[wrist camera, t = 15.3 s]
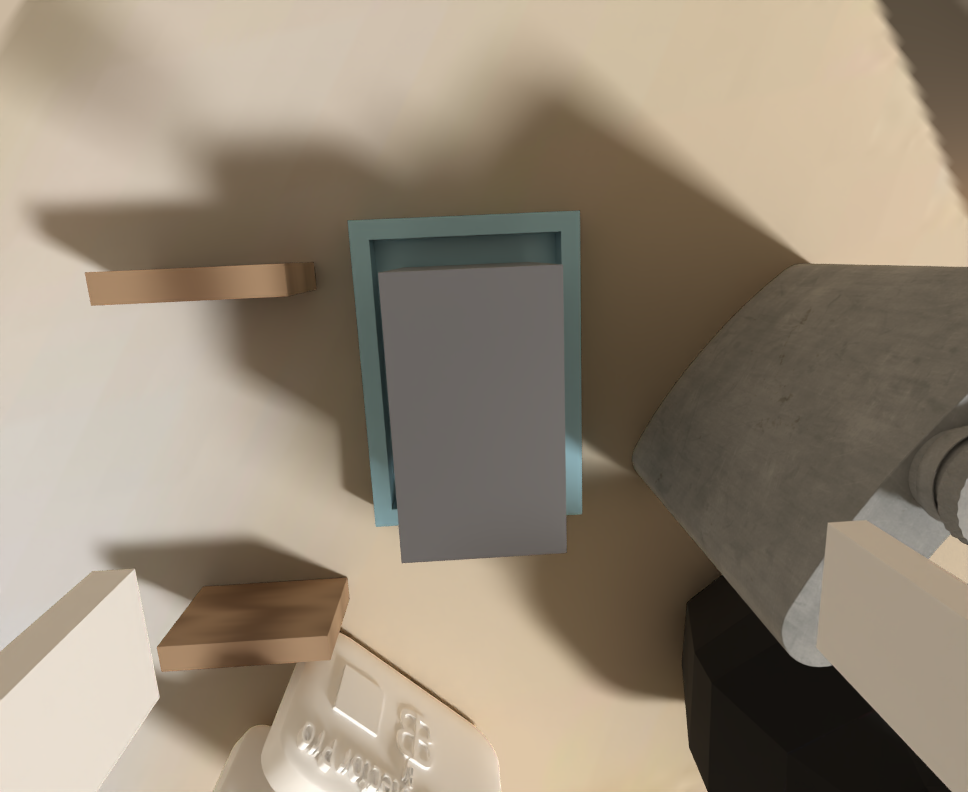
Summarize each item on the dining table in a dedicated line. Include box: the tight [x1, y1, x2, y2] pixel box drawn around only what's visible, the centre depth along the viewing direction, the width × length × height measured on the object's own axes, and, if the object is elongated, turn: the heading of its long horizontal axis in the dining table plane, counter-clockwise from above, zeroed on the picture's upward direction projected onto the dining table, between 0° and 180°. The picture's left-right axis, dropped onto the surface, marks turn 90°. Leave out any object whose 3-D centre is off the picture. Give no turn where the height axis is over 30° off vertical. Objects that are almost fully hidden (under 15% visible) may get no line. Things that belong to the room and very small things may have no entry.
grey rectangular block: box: [378, 262, 567, 563], centre depth 29 cm, size 7×12×11 cm, turn 2°
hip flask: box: [632, 264, 968, 667], centre depth 26 cm, size 16×4×20 cm, turn 142°
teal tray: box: [348, 211, 582, 527], centre depth 34 cm, size 12×17×2 cm
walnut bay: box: [85, 262, 350, 672], centre depth 33 cm, size 9×21×6 cm, turn 3°
